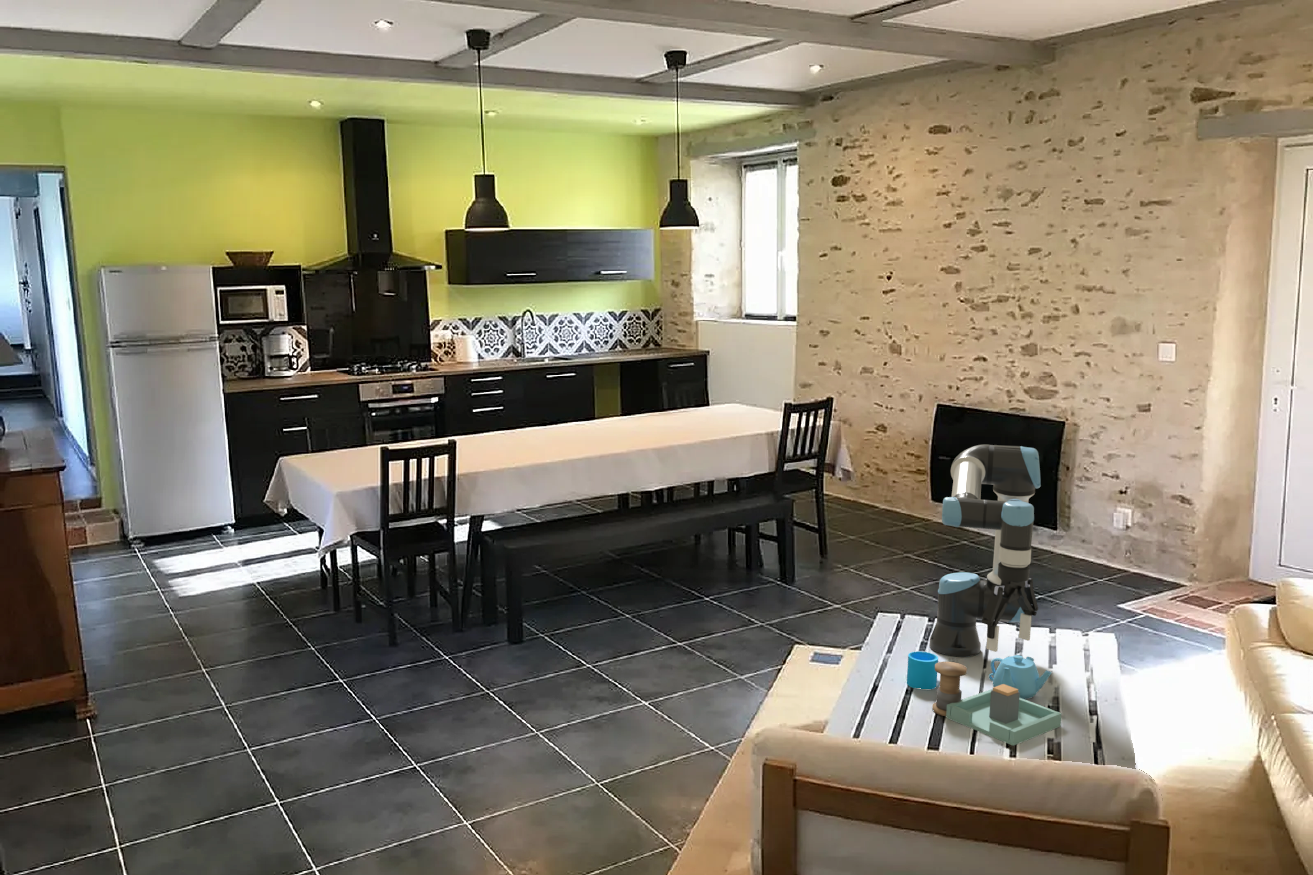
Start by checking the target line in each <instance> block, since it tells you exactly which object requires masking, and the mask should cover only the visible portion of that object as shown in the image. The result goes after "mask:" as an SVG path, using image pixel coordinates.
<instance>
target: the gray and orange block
mask: <svg viewBox="0 0 1313 875" xmlns="http://www.w3.org/2000/svg"><path fill="white" fill-rule="evenodd" d="M992 689H993V690H991V689H990V690H991V699H990V713H989V717H990V718H992V719H995V720H997V721H1000V722H1002V723H1005V724H1007V723H1010V722H1012V721H1015V720H1018V711H1019V697H1020V692H1018V689H1016V688H1013V687H1010V686H1008V685H1005V684H1002V685H999V686H996V687H993V686H992Z"/></svg>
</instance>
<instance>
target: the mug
mask: <svg viewBox="0 0 1313 875" xmlns="http://www.w3.org/2000/svg"><path fill="white" fill-rule="evenodd" d="M938 662H939V656H937V655H936V654H934V653H931V652H928V651H912V652H908V655H907V672H906V673H907V675H906V685H907V686H908V687H910V688H913V689H915V688H921V689H931V690H934V689H936V688H937V687H938V686H937V684H938V682H937V681H938V672H936V671H935V664H936V663H938ZM935 687H936V688H935ZM921 689H920V690H921Z"/></svg>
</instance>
